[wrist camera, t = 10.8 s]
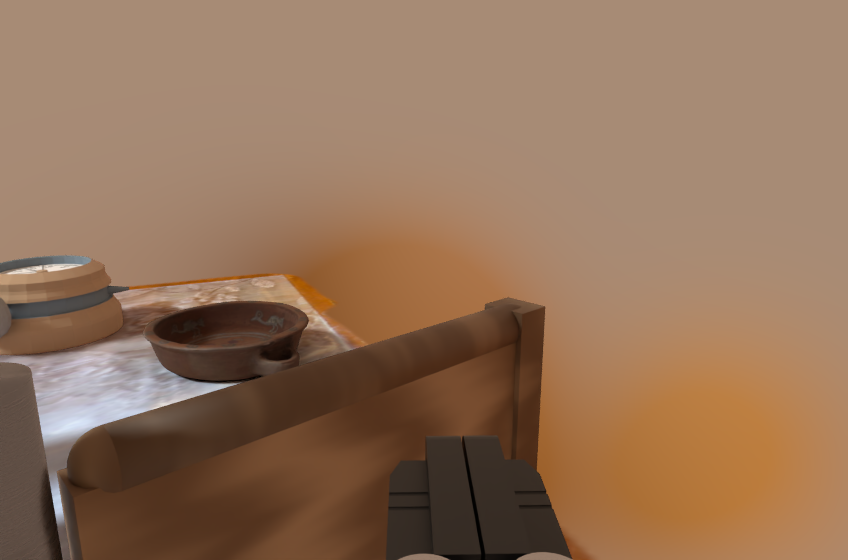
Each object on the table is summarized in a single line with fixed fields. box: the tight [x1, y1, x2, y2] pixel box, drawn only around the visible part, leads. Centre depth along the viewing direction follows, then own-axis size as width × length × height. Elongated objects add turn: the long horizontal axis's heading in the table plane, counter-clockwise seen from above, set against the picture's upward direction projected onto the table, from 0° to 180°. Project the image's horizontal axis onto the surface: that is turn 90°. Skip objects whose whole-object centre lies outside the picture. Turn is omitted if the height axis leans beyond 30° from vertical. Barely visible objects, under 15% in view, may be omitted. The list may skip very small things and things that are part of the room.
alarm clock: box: [0, 256, 129, 355], centre depth 74 cm, size 17×9×23 cm
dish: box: [143, 301, 309, 381], centre depth 68 cm, size 18×22×5 cm
